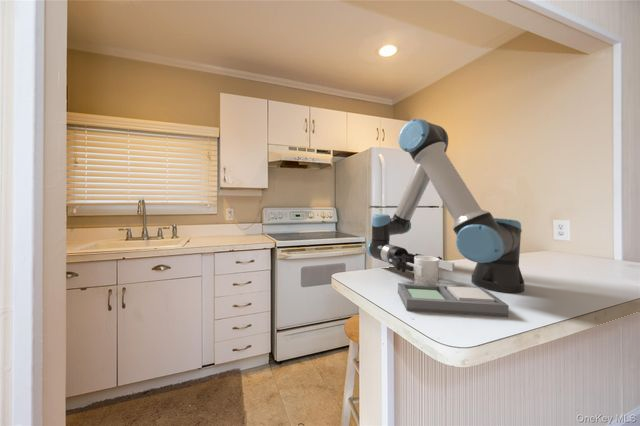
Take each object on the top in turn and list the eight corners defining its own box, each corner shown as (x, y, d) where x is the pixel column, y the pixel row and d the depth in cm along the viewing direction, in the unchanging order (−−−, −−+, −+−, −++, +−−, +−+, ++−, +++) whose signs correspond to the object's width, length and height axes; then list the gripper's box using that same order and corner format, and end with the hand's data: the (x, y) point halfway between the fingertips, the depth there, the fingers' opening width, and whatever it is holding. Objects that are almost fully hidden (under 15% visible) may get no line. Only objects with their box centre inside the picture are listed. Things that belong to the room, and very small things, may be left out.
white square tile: (478, 291, 77) (478, 287, 76) (494, 303, 68) (494, 299, 68) (446, 289, 78) (447, 286, 78) (458, 301, 69) (459, 297, 69)
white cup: (440, 292, 82) (442, 261, 81) (414, 290, 84) (416, 259, 83) (435, 284, 90) (436, 256, 89) (411, 282, 91) (412, 254, 91)
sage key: (436, 293, 78) (436, 290, 78) (447, 305, 69) (447, 301, 69) (406, 291, 79) (406, 288, 79) (413, 303, 70) (413, 299, 70)
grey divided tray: (481, 297, 79) (482, 287, 78) (507, 316, 66) (508, 305, 65) (397, 292, 82) (398, 283, 81) (406, 310, 69) (407, 299, 68)
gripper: (418, 262, 108) (464, 276, 88) (368, 267, 98) (407, 285, 79) (419, 244, 107) (465, 254, 88) (368, 248, 98) (408, 261, 78)
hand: (438, 269), depth 83 cm, fingers open, 13 cm apart
